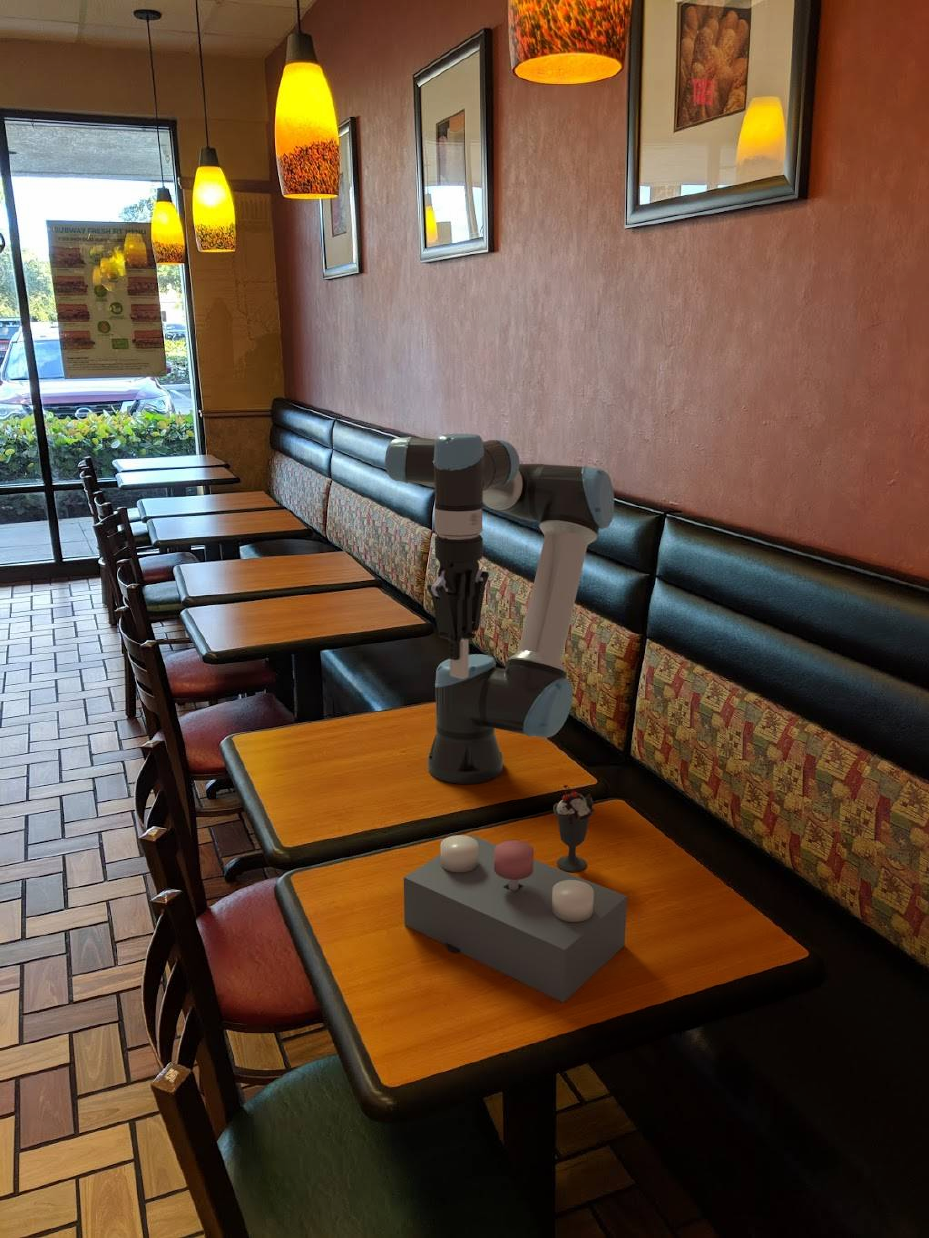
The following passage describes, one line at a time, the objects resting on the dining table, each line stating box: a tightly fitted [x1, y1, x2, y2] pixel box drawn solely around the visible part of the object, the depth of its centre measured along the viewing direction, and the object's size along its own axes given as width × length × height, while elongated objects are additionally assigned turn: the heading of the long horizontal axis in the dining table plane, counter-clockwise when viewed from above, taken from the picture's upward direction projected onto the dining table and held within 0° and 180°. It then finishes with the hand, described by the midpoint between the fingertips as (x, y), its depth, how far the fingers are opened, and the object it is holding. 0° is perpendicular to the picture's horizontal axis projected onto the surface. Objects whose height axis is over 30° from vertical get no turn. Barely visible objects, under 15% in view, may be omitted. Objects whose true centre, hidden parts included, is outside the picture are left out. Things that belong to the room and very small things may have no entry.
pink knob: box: [494, 840, 535, 892], centre depth 139 cm, size 6×6×8 cm
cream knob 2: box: [552, 880, 594, 922], centre depth 133 cm, size 6×6×8 cm
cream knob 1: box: [440, 834, 478, 872], centre depth 145 cm, size 6×6×8 cm
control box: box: [403, 834, 628, 1003], centre depth 140 cm, size 16×28×8 cm, turn 51°
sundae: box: [552, 784, 595, 873], centre depth 158 cm, size 7×7×15 cm
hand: (459, 676), depth 159 cm, fingers closed
